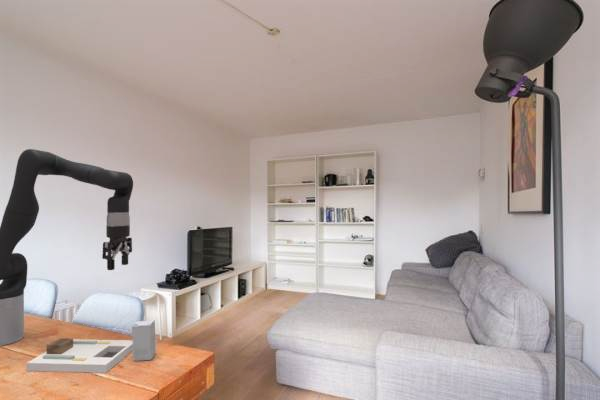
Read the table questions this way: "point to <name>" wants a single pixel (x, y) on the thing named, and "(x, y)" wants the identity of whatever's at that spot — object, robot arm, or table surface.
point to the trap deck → (84, 357)
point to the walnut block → (60, 346)
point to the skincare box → (143, 340)
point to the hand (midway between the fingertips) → (118, 267)
